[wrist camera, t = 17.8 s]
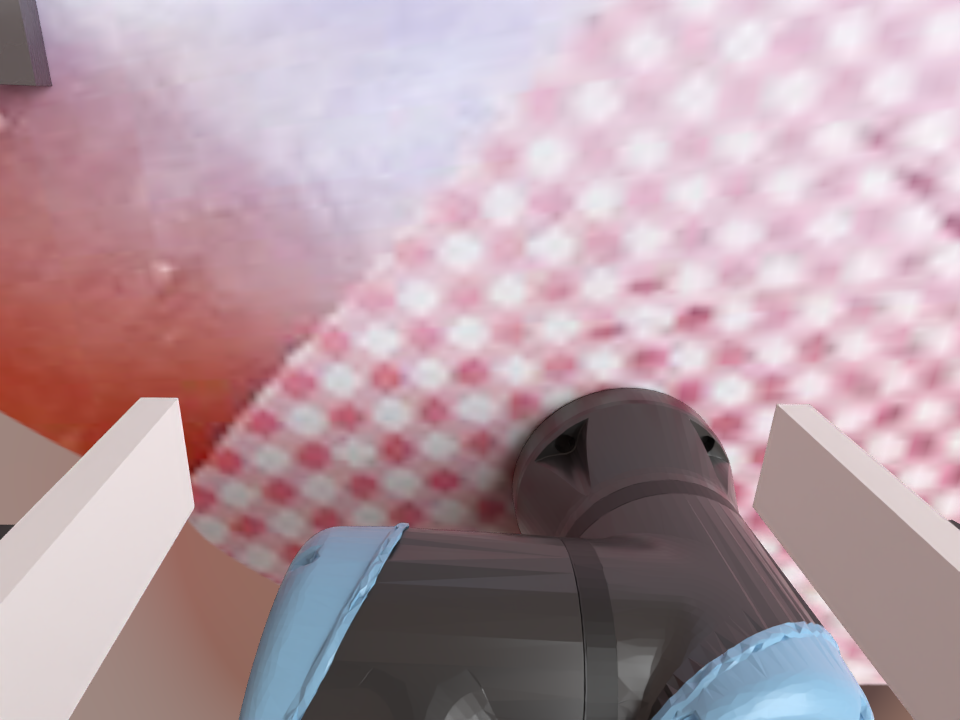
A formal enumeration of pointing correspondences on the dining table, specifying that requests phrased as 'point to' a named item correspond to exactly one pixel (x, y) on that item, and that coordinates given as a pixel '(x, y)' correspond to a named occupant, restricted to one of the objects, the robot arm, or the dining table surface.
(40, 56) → the post base
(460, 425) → the dining table surface
